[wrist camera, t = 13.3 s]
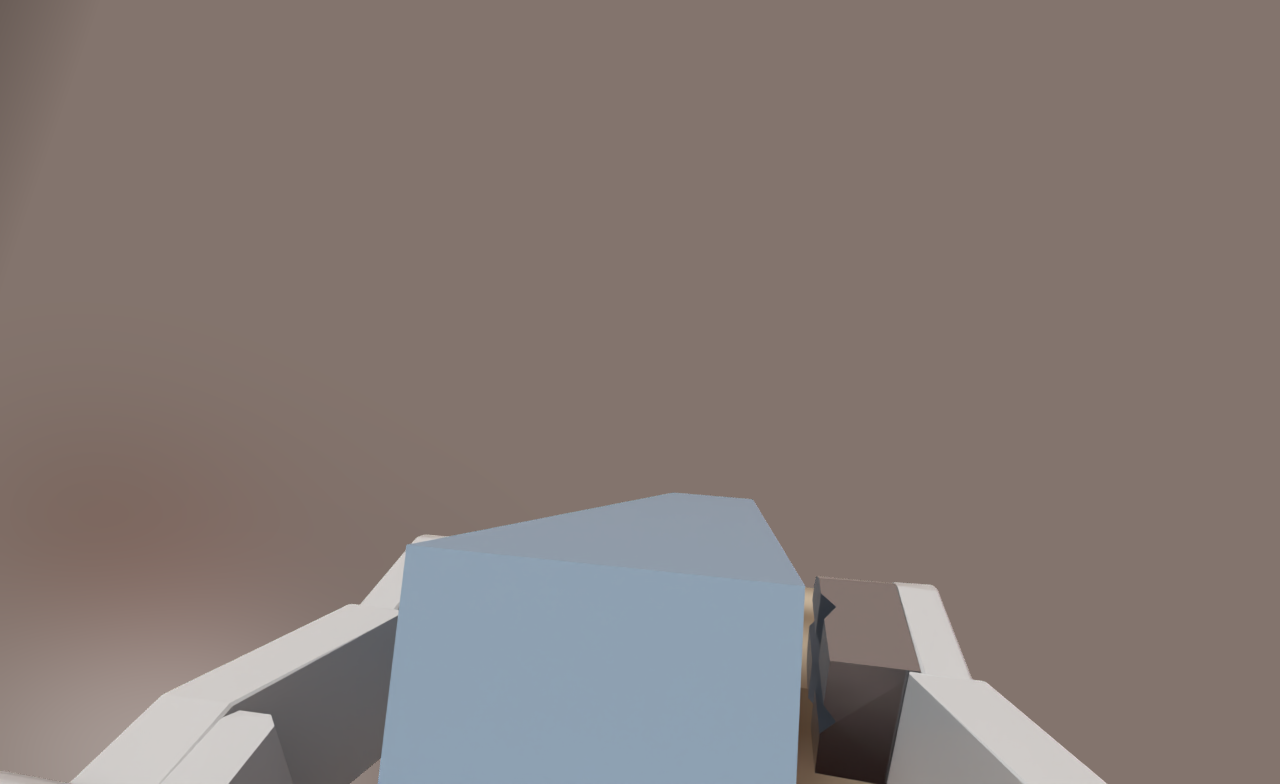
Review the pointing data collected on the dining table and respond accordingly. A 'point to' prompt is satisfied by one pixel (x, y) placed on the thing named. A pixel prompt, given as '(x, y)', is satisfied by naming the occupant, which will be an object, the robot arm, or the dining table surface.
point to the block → (600, 651)
